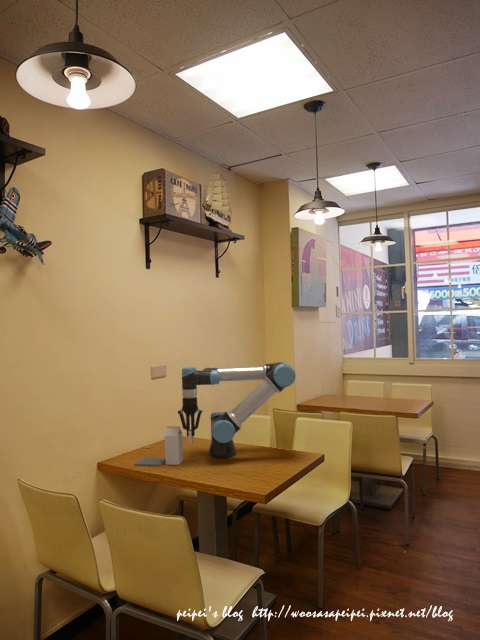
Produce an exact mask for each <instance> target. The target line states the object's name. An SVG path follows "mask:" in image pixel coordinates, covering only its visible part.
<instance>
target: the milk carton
mask: <svg viewBox="0 0 480 640" xmlns="http://www.w3.org/2000/svg"><path fill="white" fill-rule="evenodd" d="M183 441H184V440H183V431H182V429H181V426H180V425H179V426H178V425H167V426H166V431H165V434H164V448H165V449H164V451H165V453H164V455H165V457H164V458H166V462H165V465H173V466H174V465H175V466H176V465H177V466H178V465H180V464H181V463H183V461H184V448H183V447H184V446H183V445H184V444H183Z"/></svg>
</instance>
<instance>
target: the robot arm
mask: <svg viewBox="0 0 480 640" xmlns="http://www.w3.org/2000/svg"><path fill="white" fill-rule="evenodd" d="M295 380H296V372H295V370H294V368H293V367H292V366H291V365H290V364H289V363H285V362H281V361H279V362H273V363H264V364H262V365H256V366H234V367H231V366H228V367H205V368H203V370H197V367H196V366H185V367H182V369H181V386H182V387H181V389H182V391H181V393H182V394H181V395H182V399H181V400H182V407H181V409H179V410H177V414H178V415H179V418H180V423H181V426H182V429H183V430H185V431H186V437H188V444H193V443H194V437H195V432H196V431H195V430H197V429H198V428H199V424H200V419H201V417H202V413H203V411H204V410H202V409H200V408H199V407H198V406H199V405H198V397H197V396H198V386H208V385H209V386H211V385H212V386H214V385H219V384H220V382H239V381H240V382H241V381H242V382H244V381H262V382H261V383H260V384H259V385H258V386H256V388H255V389H253V391H251V392H250V393H249V394H248V395H247V396H245V397H244V398H243V399H242V401H240V402H239V403H238V404H237V405H236V406H235V407H233V408H232V409H231V410H230V411H228V410H226V411H218V412H217V411H216V412H211V413H210V432H211V433H210V434H211V436H210V438H211V440H210V445H209V448H208V456H209V457H211V458H214V459H215V458H216V459H224V458H230V457H234V456H236V455H237V448H236V445H235V442H234V437H235V435H236V434H237V433H238V432H239V431H240V429H242V424H243V423H244V422H245V421H246V420H248V418H250V417H251V416H252V415H253V414H254V413H255V412H256V411H257V410H258V409H259V408H260V407H262V406H263V405H264V404H265V403H266V402H267V401H268V400H269V399H270V398H271V397H272V396H273V395H275V394H277V393H281V392H282V391H283V390H285V389H286V388H288V387H291V386H292V385H293V383H294V382H295ZM196 413H197V415H196V419H195V414H196ZM184 414H185V416H184Z"/></svg>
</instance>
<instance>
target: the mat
mask: <svg viewBox="0 0 480 640" xmlns="http://www.w3.org/2000/svg"><path fill="white" fill-rule="evenodd" d="M163 464H166V457H141V459H139V460H138V461H137V462H135V463H134V466H135V467H161V466H163Z"/></svg>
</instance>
